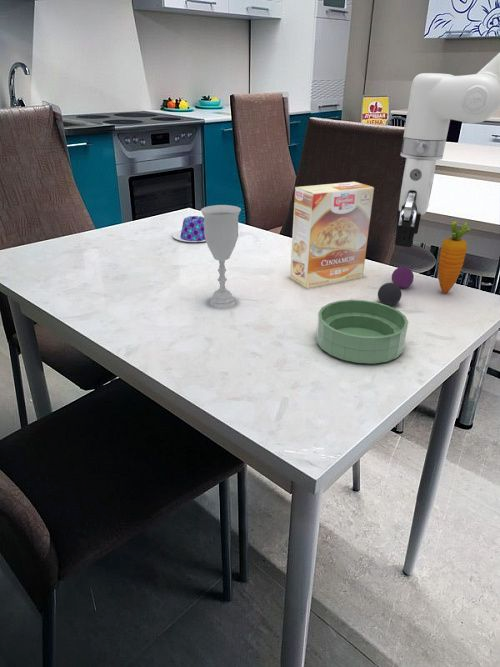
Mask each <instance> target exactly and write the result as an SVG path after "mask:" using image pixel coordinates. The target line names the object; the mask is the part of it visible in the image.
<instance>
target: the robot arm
mask: <svg viewBox="0 0 500 667" xmlns="http://www.w3.org/2000/svg"><path fill="white" fill-rule="evenodd" d="M499 110H500V52H498V53H497V54H496V55H495V56H494V57H493V58H492V59H491V60H489V62H488V63H486V65H484V66H483V67H482V68H481V69H480V70H479V71H478V72H476V73H474V74H466V75H465V74H464V75H453V74H451V73H441V72H440V73H438V72H437V73H436V72H423V73H418V74H417V75H416V76H414V78H413V80H412V82H411V87H410V94H409V99H408V105H407V112H406V119H405V124H404V131H403V137H402V143H401V147H400V148H401V149H400V155H399V156H400V157H402V158H405V164H404V169H403V175H402V181H401V188H400V194H399V202H398V211H399V212H400V217H399V221H398V224H397V226H396V232H395V233H396V235H395V239H394V245H395V246H398V247H403V248H411V247H412V246H413V242H414V237H415V235H417V234H418V232H419V226H420V222H421V218H422V217H421V216H424V215H425V214H426V213H427V210H428V208H429V206H430V199H431V194H432V189H433V184H434V177H435V174H436V165H437V161H440V160H443V159H444V152H445V147H446V142H447V139H448V138H447V137H448V132H449V127H450V123H451V121H456V122H457V121H458V122H462V123H467V124H479V123H482V122H485V121H487V120H488V119H490V118H492V117H493V116H494V115H495V113H497V112H498V111H499Z"/></svg>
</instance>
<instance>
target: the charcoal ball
mask: <svg viewBox="0 0 500 667" xmlns="http://www.w3.org/2000/svg"><path fill="white" fill-rule="evenodd" d="M402 294H403V293H402V288H399V286H398V285H396V284H394V283H393V282H386V283H383V284H382V285H381V286H380V287H379V288H378V290H377V299H378V300H379V303H381V304H385V305H388V306H390V307H392V306H395V305H397V304H398V303H399V302H400V301H401V299H402V296H403V295H402Z"/></svg>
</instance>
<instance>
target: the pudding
mask: <svg viewBox="0 0 500 667" xmlns="http://www.w3.org/2000/svg"><path fill="white" fill-rule="evenodd" d="M172 237H173V238H174V239H175V240H177V241H180V242H186V243H201V242H206V240H205V233H204V216H198V215H193V216H192V215H191V216H190V215H189V216H186V217H185V218H183V221H182V225H181V229H180V230H177V231H176V232H174V233H173V234H172Z"/></svg>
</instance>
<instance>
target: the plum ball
mask: <svg viewBox="0 0 500 667" xmlns="http://www.w3.org/2000/svg"><path fill="white" fill-rule="evenodd" d="M414 278H415V275H414V272H413V271H412V269H410V268H409V267H407V266H400V267H399V266H398V267H397V268H395V269H394V271H393V272H392V273H391V283H394V284H396V285H398V286H399V288H400V289H406V288H408V287H410V286H411V285H412V283H413V282H414Z"/></svg>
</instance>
